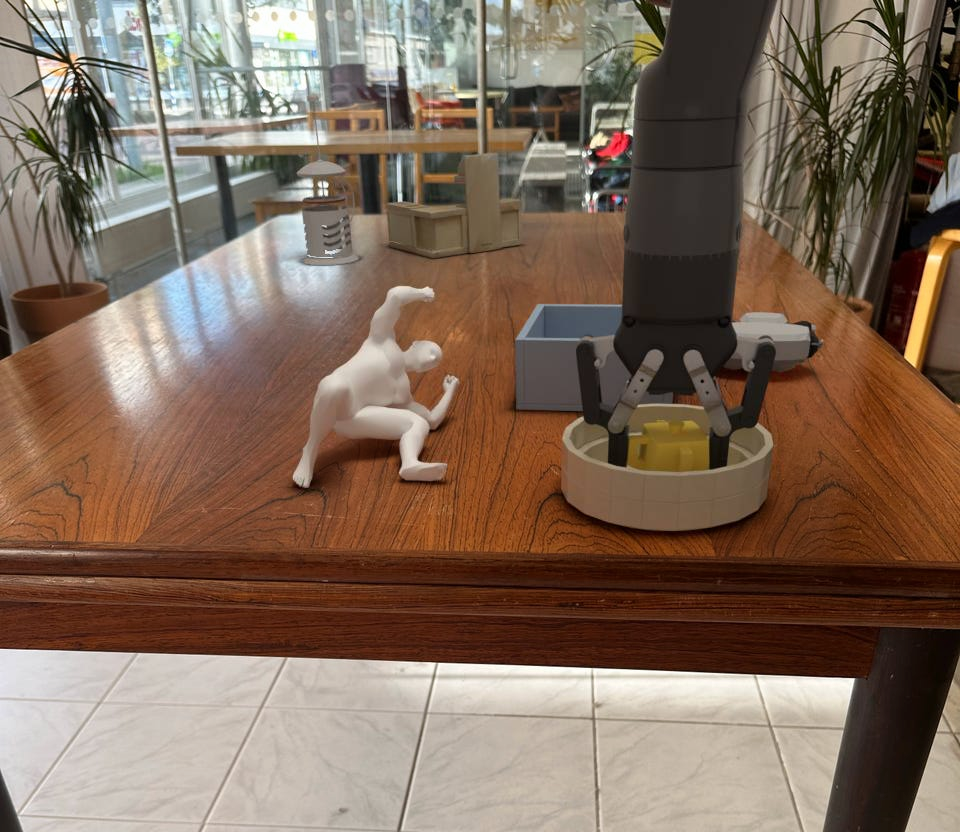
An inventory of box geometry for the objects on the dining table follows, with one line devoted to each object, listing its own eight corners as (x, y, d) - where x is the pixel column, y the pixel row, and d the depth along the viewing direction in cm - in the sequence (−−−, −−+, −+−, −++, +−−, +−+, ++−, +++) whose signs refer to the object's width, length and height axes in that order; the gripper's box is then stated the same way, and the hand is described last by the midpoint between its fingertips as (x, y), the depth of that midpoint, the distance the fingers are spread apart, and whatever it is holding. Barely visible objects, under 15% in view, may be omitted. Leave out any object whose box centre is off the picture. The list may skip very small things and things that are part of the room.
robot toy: (705, 348, 109) (692, 375, 96) (709, 307, 107) (696, 329, 94) (816, 353, 106) (818, 382, 93) (823, 311, 104) (825, 334, 91)
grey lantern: (290, 262, 161) (268, 94, 148) (334, 251, 170) (317, 91, 156) (333, 266, 157) (314, 93, 144) (377, 255, 165) (363, 90, 152)
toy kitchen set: (473, 235, 180) (470, 146, 172) (524, 245, 168) (523, 150, 160) (388, 247, 172) (381, 154, 164) (435, 259, 159) (430, 159, 151)
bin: (674, 369, 99) (679, 304, 96) (671, 414, 87) (676, 341, 84) (537, 366, 102) (537, 303, 99) (516, 409, 90) (515, 339, 86)
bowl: (759, 460, 77) (766, 406, 74) (771, 541, 64) (780, 479, 62) (573, 453, 80) (574, 401, 77) (550, 529, 67) (550, 470, 64)
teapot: (614, 470, 75) (617, 406, 72) (686, 466, 75) (691, 402, 72) (636, 511, 68) (639, 442, 65) (714, 506, 68) (721, 437, 66)
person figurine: (413, 354, 67) (426, 261, 81) (249, 395, 69) (288, 299, 83) (462, 503, 76) (467, 396, 89) (314, 535, 78) (340, 427, 91)
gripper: (789, 230, 64) (760, 463, 73) (579, 232, 67) (575, 457, 76) (799, 249, 58) (766, 502, 67) (567, 251, 61) (564, 494, 69)
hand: (665, 477), depth 71 cm, fingers closed on teapot, 6 cm apart
